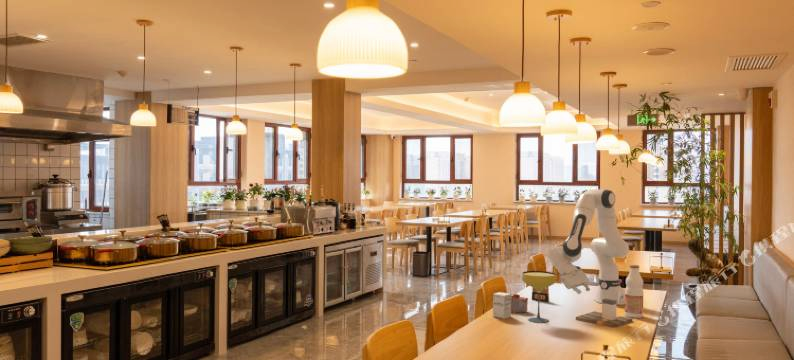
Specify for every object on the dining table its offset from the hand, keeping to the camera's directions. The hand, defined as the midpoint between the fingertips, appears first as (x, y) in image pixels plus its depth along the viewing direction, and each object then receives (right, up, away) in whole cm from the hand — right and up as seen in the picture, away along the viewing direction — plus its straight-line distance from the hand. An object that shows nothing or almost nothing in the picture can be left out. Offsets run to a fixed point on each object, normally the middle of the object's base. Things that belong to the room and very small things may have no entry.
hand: (584, 291), depth 340 cm
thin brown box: (-15, -13, +40) cm, 44 cm away
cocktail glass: (-28, -13, -11) cm, 33 cm away
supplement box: (-46, -13, -3) cm, 48 cm away
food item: (-36, -13, +10) cm, 40 cm away
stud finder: (+10, -12, -11) cm, 19 cm away
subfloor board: (+8, -14, -9) cm, 18 cm away
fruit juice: (+28, -14, +2) cm, 31 cm away
